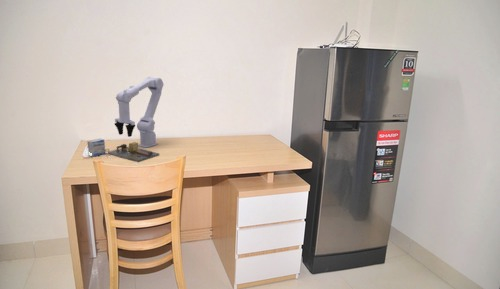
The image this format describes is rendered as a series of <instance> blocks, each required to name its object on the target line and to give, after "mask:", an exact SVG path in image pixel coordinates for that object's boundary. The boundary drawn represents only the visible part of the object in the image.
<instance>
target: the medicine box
mask: <svg viewBox="0 0 500 289" xmlns="http://www.w3.org/2000/svg"><path fill="white" fill-rule="evenodd" d="M86 142H87V150H88V151H87V152H88V153H89V152H90V153H92V156H91V157H93V158H95V157H99V156H102V155H105V154H106V145H105V143H106V142H105V139H103V138H96V139H93V140H87V141H86Z"/></svg>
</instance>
